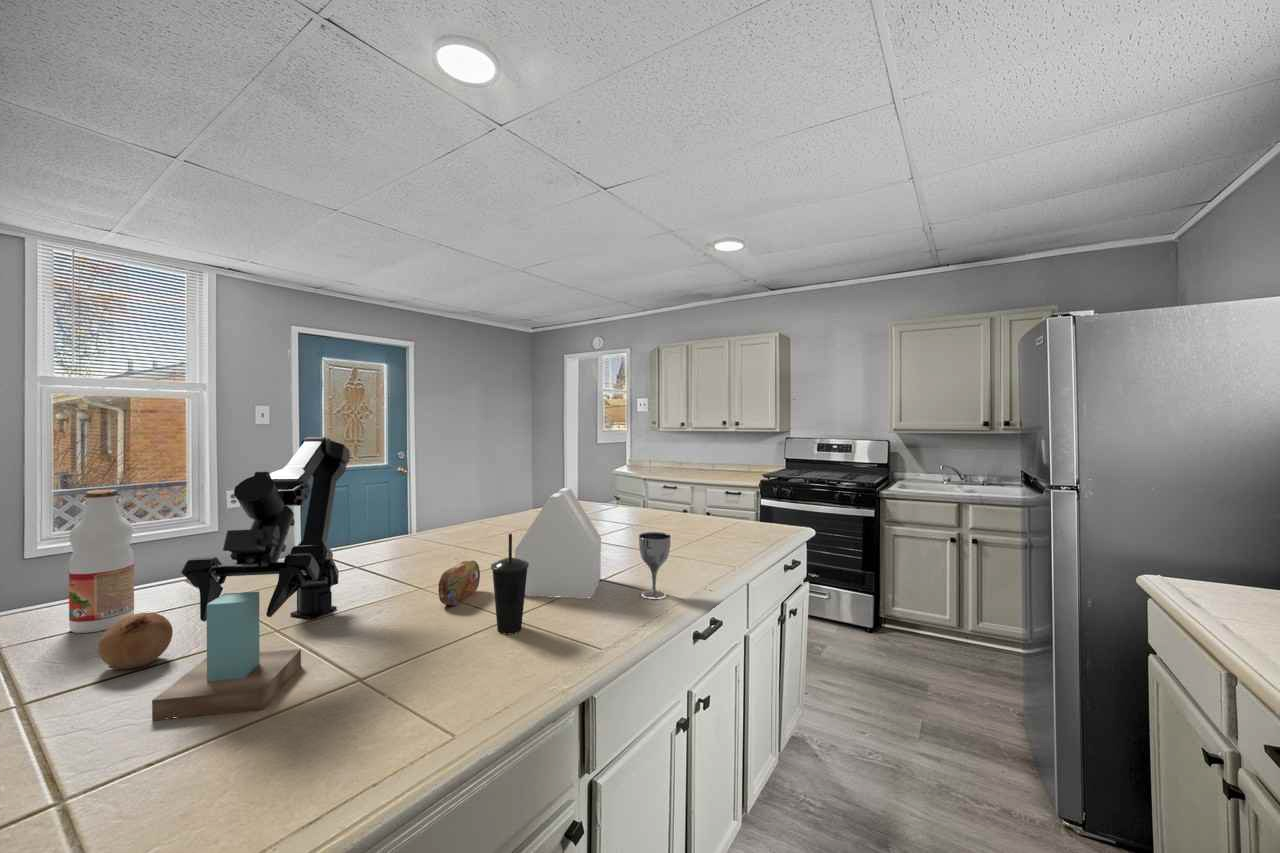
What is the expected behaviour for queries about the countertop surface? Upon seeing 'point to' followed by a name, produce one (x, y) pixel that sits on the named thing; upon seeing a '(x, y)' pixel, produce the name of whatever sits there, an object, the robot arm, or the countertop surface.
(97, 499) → the fruit juice
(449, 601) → the tin
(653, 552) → the wine glass
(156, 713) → the walnut base
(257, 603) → the teal block
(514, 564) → the drinking cup
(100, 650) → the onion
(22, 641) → the countertop surface
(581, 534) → the milk carton
